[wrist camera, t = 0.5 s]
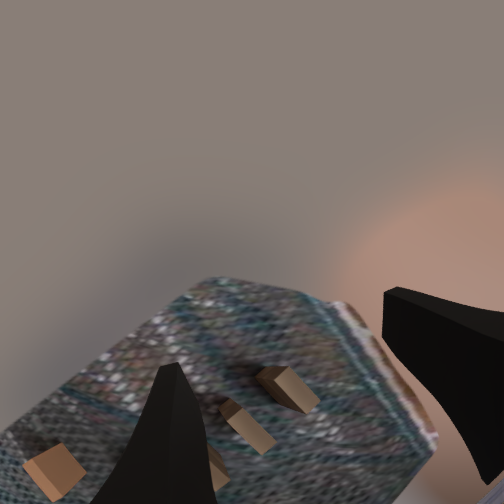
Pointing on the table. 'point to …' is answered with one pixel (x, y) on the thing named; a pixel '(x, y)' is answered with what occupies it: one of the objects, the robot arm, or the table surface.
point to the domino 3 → (246, 426)
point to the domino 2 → (217, 469)
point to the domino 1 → (55, 471)
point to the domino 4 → (287, 388)
